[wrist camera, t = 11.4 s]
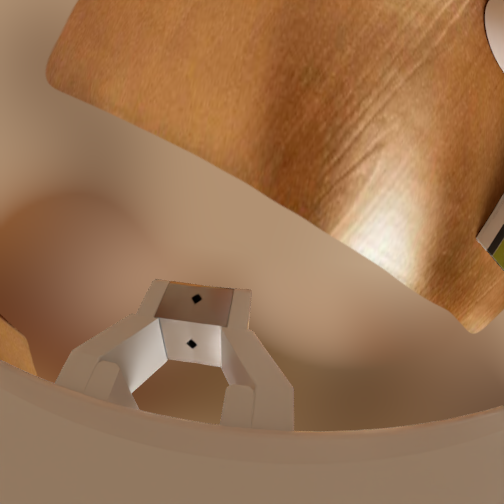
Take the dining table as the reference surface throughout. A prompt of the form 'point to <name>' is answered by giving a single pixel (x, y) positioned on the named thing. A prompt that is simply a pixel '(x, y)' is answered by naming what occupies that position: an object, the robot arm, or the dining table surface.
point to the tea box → (494, 234)
